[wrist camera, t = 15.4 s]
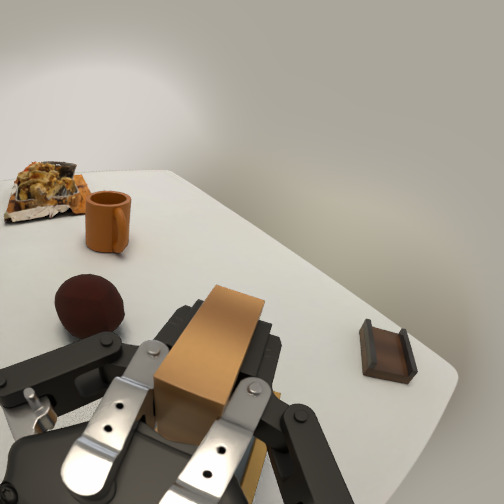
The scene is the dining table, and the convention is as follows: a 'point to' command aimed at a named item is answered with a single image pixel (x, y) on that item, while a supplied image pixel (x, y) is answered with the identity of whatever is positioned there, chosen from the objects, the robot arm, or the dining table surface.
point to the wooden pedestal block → (204, 365)
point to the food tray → (46, 191)
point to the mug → (107, 221)
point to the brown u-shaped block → (386, 354)
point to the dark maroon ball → (89, 305)
